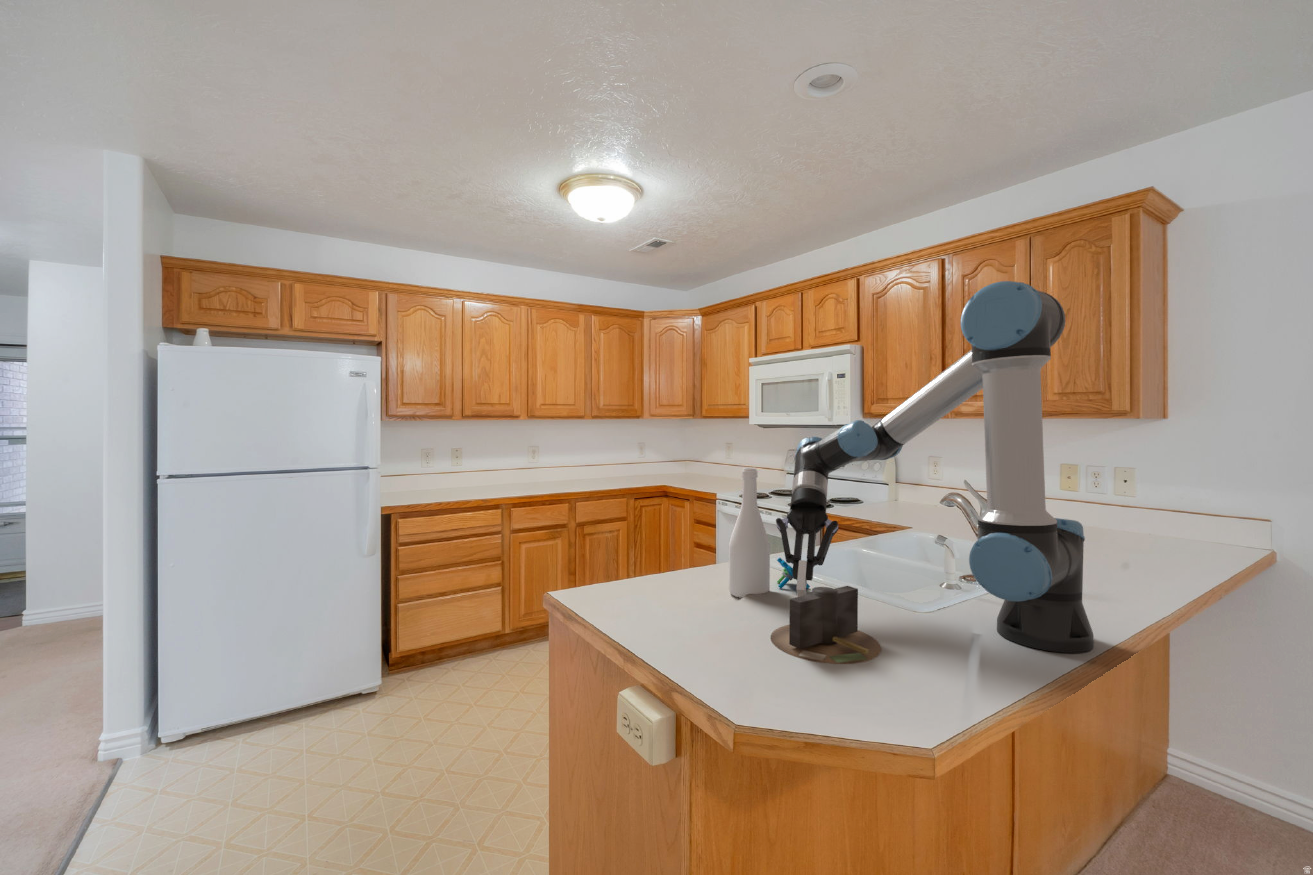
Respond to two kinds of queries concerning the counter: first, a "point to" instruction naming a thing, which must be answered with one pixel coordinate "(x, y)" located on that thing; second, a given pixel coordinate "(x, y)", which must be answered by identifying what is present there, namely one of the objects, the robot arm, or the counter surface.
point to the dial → (829, 648)
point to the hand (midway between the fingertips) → (800, 593)
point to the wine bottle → (749, 544)
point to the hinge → (824, 617)
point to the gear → (786, 574)
